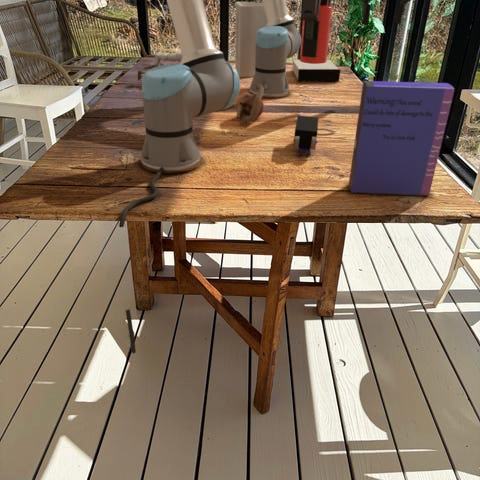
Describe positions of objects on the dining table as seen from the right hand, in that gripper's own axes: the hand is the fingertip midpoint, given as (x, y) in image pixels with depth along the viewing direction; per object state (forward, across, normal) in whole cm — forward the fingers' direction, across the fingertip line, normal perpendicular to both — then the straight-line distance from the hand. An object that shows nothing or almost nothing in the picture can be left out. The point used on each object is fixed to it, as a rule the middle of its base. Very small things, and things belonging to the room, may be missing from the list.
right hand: (381, 24), depth 171 cm
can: (-2, -63, -65) cm, 91 cm away
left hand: (-4, -63, -65) cm, 91 cm away
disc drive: (+26, -4, +38) cm, 46 cm away
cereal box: (+26, -45, -75) cm, 91 cm away
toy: (+26, -53, +72) cm, 93 cm away
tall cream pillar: (+26, -28, +52) cm, 65 cm away
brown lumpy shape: (+26, -56, -15) cm, 64 cm away
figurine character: (+26, -51, -44) cm, 72 cm away
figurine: (+26, -67, +41) cm, 82 cm away
